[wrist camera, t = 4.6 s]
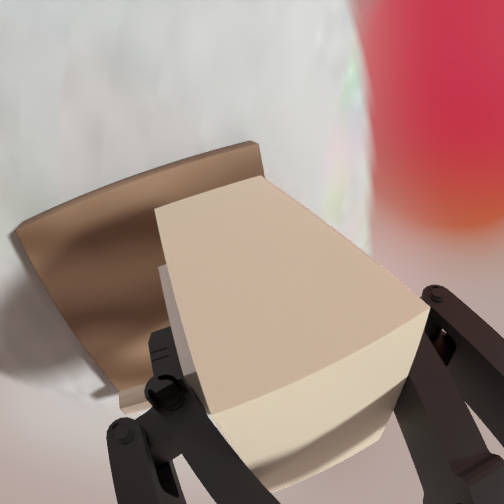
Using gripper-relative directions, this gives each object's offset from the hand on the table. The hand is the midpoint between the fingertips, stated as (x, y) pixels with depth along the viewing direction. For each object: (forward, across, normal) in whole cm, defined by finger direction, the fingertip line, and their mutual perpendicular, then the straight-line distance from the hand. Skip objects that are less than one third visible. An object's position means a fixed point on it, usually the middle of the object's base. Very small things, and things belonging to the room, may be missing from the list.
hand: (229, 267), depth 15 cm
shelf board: (+6, -4, -4) cm, 8 cm away
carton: (0, 0, 0) cm, 0 cm away
